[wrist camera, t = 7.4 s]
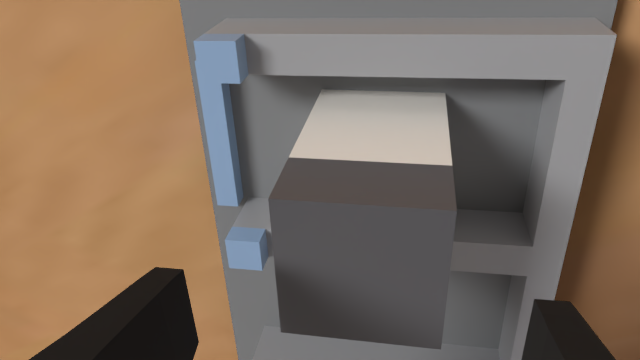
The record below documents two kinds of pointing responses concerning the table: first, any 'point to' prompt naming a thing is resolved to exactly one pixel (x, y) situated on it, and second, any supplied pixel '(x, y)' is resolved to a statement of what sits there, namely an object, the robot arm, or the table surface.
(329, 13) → the parts fixture tray
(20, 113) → the table surface
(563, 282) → the table surface
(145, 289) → the robot arm
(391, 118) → the white upright block
